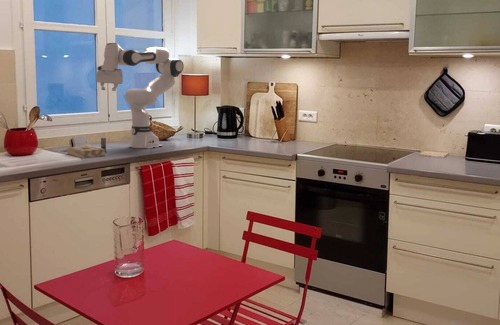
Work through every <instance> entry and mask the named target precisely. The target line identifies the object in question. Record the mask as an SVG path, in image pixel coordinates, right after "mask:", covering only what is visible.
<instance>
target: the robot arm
mask: <svg viewBox="0 0 500 325" xmlns="http://www.w3.org/2000/svg"><path fill="white" fill-rule="evenodd" d="M103 56H104V60H103V64H102V65H99V66H97V67H96V70H97V72H96V74H95V75H96V76H95V78H96V79H95V81H96V82H97V83H100V87H101V90H102V91H106V87H105V84H111V85H112V84H113V87H112V88H111V91H113V92H116V90H117V89H118V88H117V87H118V86H119V85H122V84H123V82H124V80H123V78H124V77H123V70H122V69H121V68H118V66H129V67H135V66H137V65H139V64H140V63H146V64H150V65H155V70H156V72H157V73H159V74H160V76H157V77H156V78H154V79H151V81H149V82H148V83H147V86H145V87H143V88H129V89H128V90H127V91H125V94H124V95H125V96H124V97H125V101H126V102H127V103H128V105H129V108H130V112H131V119H132V120H131V138H130V139H131V140H130V143H129V144H130V145H129V148H133V149H154V148H153V147H155V148H160V147H159V146H162V147H163V144H160V139H159V137H158V136H157V135H156V134H155V133H154V132H152V131H154V129H155V128H154V126H150V115H149V112H148V111H147V110H146V107H148V106H153V105H155V104H156V102H157V99H158V97H159V96H161V95H162V94H164V93H166V92H167V91H168V90H170V89H171V88H172V87H174V85H175V82H176V80H175V78H178V77H179V76H180V74H181V73H182V72H183V71H184V67H185V66H184V62H183V60H181V59H179V58H171V57H170V51H169V50H168V49H167V48H166V47H161V46H152V47H151V46H150V47H147V48H144V50H143V51H138V50H135V49H123V48H122V46H120V44H119V43H118V42H109V43H106V44H105V47H104V54H103Z"/></svg>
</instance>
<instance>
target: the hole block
mask: <svg viewBox="0 0 500 325" xmlns="http://www.w3.org/2000/svg"><path fill="white" fill-rule="evenodd" d="M66 153H67V155H71V156H74V157H78V158H83V159H86V158H97V157H104V156H105V155H106V153H105V149H102V148H101V147H95V146H93V145H92V146H79V147H70V146H67V152H66Z"/></svg>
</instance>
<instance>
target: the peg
mask: <svg viewBox="0 0 500 325" xmlns="http://www.w3.org/2000/svg"><path fill="white" fill-rule="evenodd" d="M100 148H102V149H105V154H106V153H107V138H106V137H100Z"/></svg>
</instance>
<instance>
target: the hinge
mask: <svg viewBox="0 0 500 325" xmlns="http://www.w3.org/2000/svg"><path fill="white" fill-rule="evenodd" d="M68 142H69V147H79V146H92V147H93V145H91V144H90V141H89V139H88V137H87V136H85V135H84V134H83V135H81V134H80V135H76V136H73V137H71V138H70V139H69V140H68Z"/></svg>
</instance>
